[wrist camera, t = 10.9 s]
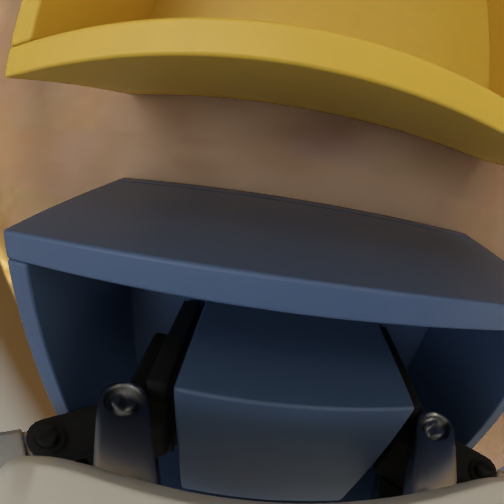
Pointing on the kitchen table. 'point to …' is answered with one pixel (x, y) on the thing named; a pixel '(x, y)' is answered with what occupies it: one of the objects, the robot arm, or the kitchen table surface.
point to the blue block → (284, 404)
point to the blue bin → (253, 290)
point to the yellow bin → (287, 57)
